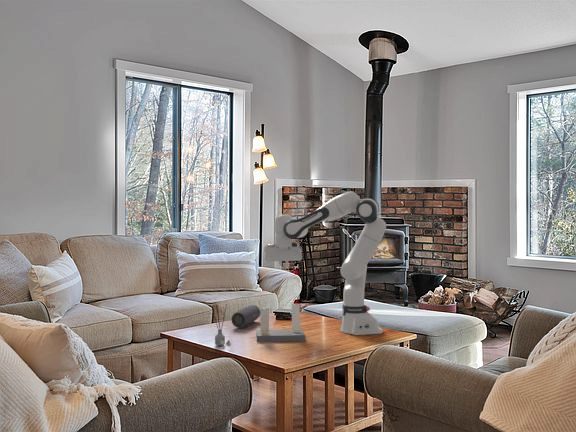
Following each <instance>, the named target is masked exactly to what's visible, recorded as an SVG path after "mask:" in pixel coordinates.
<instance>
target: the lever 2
mask: <svg viewBox="0 0 576 432" xmlns="http://www.w3.org/2000/svg"><path fill="white" fill-rule="evenodd" d="M300 305H301V304H300V303H291V330H292V331H300V330H301V311H300Z"/></svg>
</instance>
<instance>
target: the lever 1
mask: <svg viewBox="0 0 576 432" xmlns="http://www.w3.org/2000/svg"><path fill="white" fill-rule="evenodd" d="M260 312H261V313H260V330H261V333H266V332H269V330H270V307H261V308H260Z"/></svg>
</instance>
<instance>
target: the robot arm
mask: <svg viewBox="0 0 576 432" xmlns="http://www.w3.org/2000/svg"><path fill="white" fill-rule="evenodd" d="M353 212H354V213H356V215H357V217H358V218H359V219H360V220H361V221H362V222H364V227H363V229H362V231H361V232H360V234H359V236H358V239H357V240H356V242H355V244H354V246H353V247H352V248H351V250H350V252H349V253H348V255H347V256H346V258H345V260H344V261H343V263H342V264H341V267H340V275H341V277H342V278H344V280H345V282H344V287H343V304H342V307H341V308H342V309H341V310H342V311H341V313H342V321H341V326H340V329H339V330H340V332H341V333H344V334H348V335H349V334H351V335H354V336H360V335H361V336H364V335H366V336H367V335H380V334H383V333H384V330H383V329H382V327H380V325H379V322H378V320H377V318H376V317H374V316H373V315H372V314H370V313H369V311H370V310H371V308H370V306H368V305H366V304H365V289H366V280H367V269H368V263H369V262H370V260H371V259H372V258H373V256H374V254H375V253H376V251H377V250H378V246H379V245H380V243H381V241H382V239H383V237H384V236H385V233H386V228H387V223H386V222H385V220H384V219H382V217H379V212H380V205H379V202H378V201H377V200H376V199H373V198H370V197H369V198H368V197H366V198H365V197H364V198H363V197H361V198H360V197H359V195H358V194H357V193H356V192H355V191H351V190H350V191H346V192H344V193H343V192H342V193H341V194H339V195H337V196H335V197H333V198H330V199H329V200H328V201H326V203H324V204H322V205H321V206H320V207H318V208H317V209H316V210H314V211H312V212H310V213H308V214H306V215H304V216H302V217H300V218H295V217H293V216H291V215H290V214H288V213H285V214H279V215H277V216H276V217H275V220H274V233H275V236H274V237H275V238H274V244H266V245H265V246H264V251H263V252H265V254H264V261H265V262H278V264H279V266H280V269H281V271H283V270H287V268H288V267H287V266H288V265H289V262H295V261H297V262H299V261H302V260H303V253H302V249H301V248H300V243H299V242H297V241H292V240H294V239H299V238H304V237H305V236H306V235H308V232H309V228H310V227H312V226H315V225H316V224H319V223H321V222H327V221H334V220H338V219H341V218H344V217H345V216H347V215H349V214H350V213H353ZM282 262H285V265H282Z"/></svg>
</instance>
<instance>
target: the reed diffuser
mask: <svg viewBox="0 0 576 432" xmlns="http://www.w3.org/2000/svg"><path fill="white" fill-rule="evenodd" d="M215 305H216V307H215V308H216V313H217V318H216V316H215V312H214V308H213V307H211V309H212V312H213V316H214V319H215V323H216V327H217V334H216V335H214V344H215V345H216V346H224V345H225V344H226V345H230V344H231V342H230V340H229V339H228V340H227V341H225V340H226V336H225V335H224V334H223V330H222V329H223V325H224V320H225V316H226V315H225V314H226V310H227V307H224V308H225V309H224V313H223V319H222V324H220V316H219V310H218V309H219V308H218V304H215ZM225 306H227V304H225ZM216 319H217V320H218V322H217V320H216Z"/></svg>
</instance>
